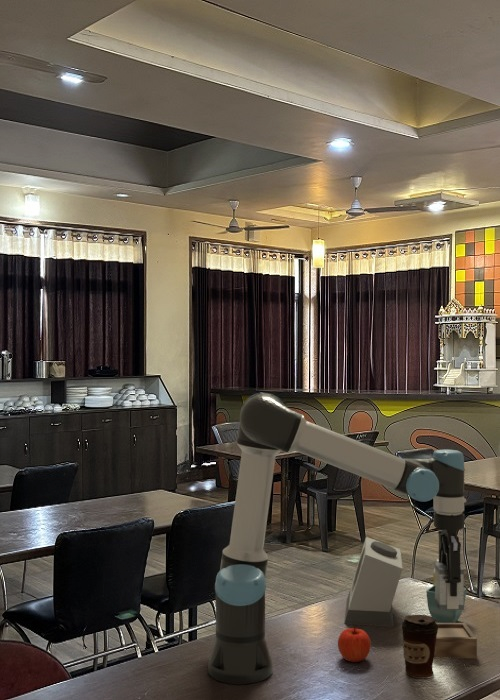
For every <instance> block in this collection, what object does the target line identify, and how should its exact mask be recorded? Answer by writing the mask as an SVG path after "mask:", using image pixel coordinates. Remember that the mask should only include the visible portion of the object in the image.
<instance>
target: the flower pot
mask: <svg viewBox="0 0 500 700" xmlns="http://www.w3.org/2000/svg"><path fill="white" fill-rule="evenodd" d="M466 596H467V587H464V605H465V604H466V603H465V601H466ZM426 601H427V608H428V612H429V614H430V616H431V617H433V618H435V619H436V621H435V623H457V622H458V620H459V619H460V617H461V615H462V613H463V611H464V610H440V609H439V608H438V606H437V605H436V603H435V585H433V584H432V586H430V587H429V588H428V589H426Z"/></svg>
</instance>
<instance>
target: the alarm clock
mask: <svg viewBox="0 0 500 700" xmlns="http://www.w3.org/2000/svg"><path fill="white" fill-rule="evenodd" d="M361 549H362V550H361V553H360V555H359V559H358V562H357V566H356V568H355V572H354V576H353V579H352V581H351V582H352V583H351V585H350V588H349V591H348V595H347V599H346V607H345V616H344V622H343V624H344V625H361V626H378V627H379V626H380V627H381V626H382V627H394V626H395V623H394V610H393V609H394V608H393V602H394V599H395V595H396V593H397V588H398V585H399V582H400V579H401V575H402V572H403V569H404V568H403V562H402V561H403V560H402V554H401V549H400V548H397V547H394V546H392V545H390V544H386V543H384V542H381V541H380V540H379V541H378V540H377V539H374V538H370V537H369V536H366V537H365V539H364V542H363V545H362V548H361Z"/></svg>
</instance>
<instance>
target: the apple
mask: <svg viewBox="0 0 500 700" xmlns="http://www.w3.org/2000/svg"><path fill="white" fill-rule="evenodd" d="M356 627H357V626H353V627H352V628H351V627H350V628H346V629H344V630H342V631H341V633H340V634H339V636H338V639H337V648H338V651H339V653H340V655H341V657H343V658H344V659H345V660H346V661H348V662H353V663H357V662H358V663H359V662H362V661H364V660H365V659H366V658H367V657H368V655H369V653H370V652H371V651H370V650H371V644H372V643H371V639H370V635H368V633H367V632H366V631H365V630H364V629H359V628H356Z"/></svg>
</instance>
